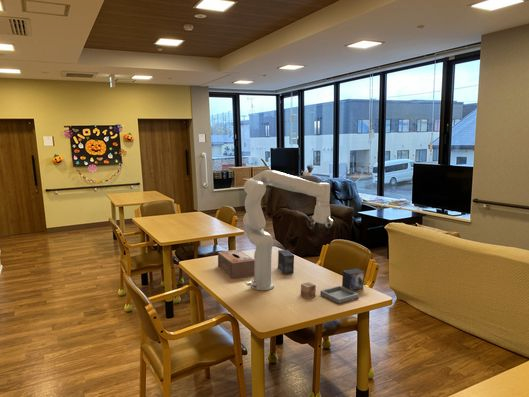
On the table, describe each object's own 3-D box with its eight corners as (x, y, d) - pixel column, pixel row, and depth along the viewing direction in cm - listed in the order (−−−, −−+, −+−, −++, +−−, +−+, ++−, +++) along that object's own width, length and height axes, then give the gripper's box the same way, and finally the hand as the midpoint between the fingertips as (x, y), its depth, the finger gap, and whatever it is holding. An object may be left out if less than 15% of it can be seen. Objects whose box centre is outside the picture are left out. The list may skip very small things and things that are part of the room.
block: (307, 298, 200) (307, 287, 199) (300, 294, 205) (301, 284, 204) (315, 296, 203) (315, 285, 202) (308, 292, 208) (309, 282, 207)
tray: (338, 304, 193) (339, 299, 193) (320, 294, 205) (320, 290, 205) (358, 298, 201) (358, 293, 200) (339, 289, 212) (339, 285, 212)
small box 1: (294, 274, 237) (294, 255, 235) (283, 274, 236) (283, 255, 234) (287, 267, 250) (288, 249, 248) (277, 268, 248) (277, 250, 246)
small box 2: (348, 292, 208) (349, 274, 207) (341, 288, 214) (342, 270, 213) (363, 289, 213) (364, 271, 212) (356, 285, 219) (356, 267, 218)
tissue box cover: (254, 276, 233) (255, 260, 232) (232, 279, 227) (232, 263, 225) (238, 264, 256) (238, 249, 255) (218, 266, 250) (217, 252, 248)
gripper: (308, 202, 231) (307, 230, 233) (328, 206, 216) (327, 235, 219) (317, 201, 235) (316, 228, 237) (338, 205, 221) (336, 234, 223)
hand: (321, 232), depth 228 cm, fingers open, 9 cm apart
